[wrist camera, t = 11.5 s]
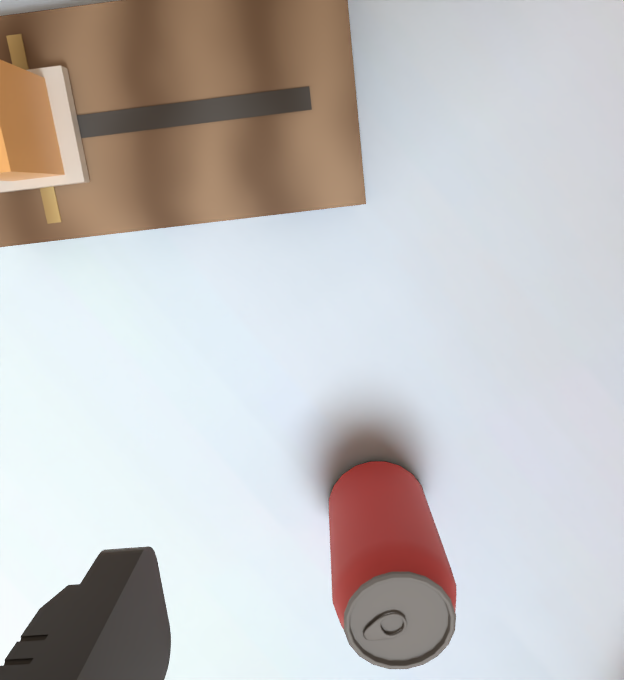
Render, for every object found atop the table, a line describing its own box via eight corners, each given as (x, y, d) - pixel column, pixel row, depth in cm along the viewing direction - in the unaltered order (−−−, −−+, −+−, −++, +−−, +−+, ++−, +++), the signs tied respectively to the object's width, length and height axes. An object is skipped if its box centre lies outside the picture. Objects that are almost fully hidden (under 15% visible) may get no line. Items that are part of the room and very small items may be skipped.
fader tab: (67, 68, 32) (3, 37, 26) (89, 182, 34) (35, 180, 27) (-23, 79, 32) (-110, 51, 26) (3, 192, 34) (-72, 193, 27)
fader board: (343, -17, 33) (344, -30, 31) (363, 203, 36) (366, 203, 34) (-42, 33, 34) (-65, 23, 32) (9, 245, 37) (-9, 248, 35)
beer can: (311, 481, 41) (309, 599, 29) (398, 441, 40) (433, 544, 28) (354, 557, 42) (369, 698, 30) (439, 519, 41) (487, 648, 30)
